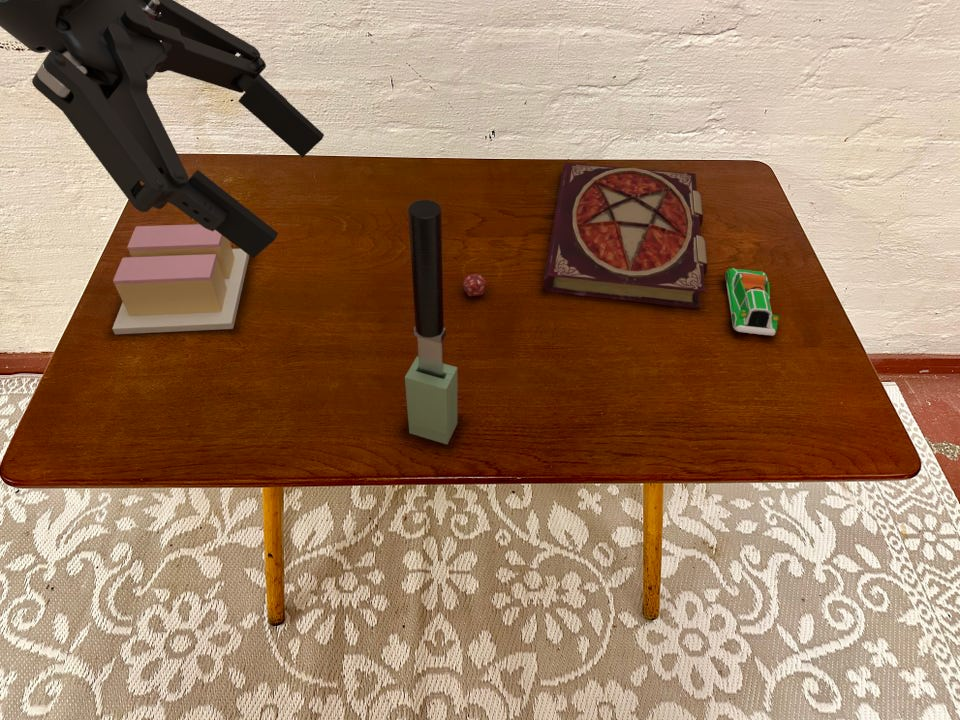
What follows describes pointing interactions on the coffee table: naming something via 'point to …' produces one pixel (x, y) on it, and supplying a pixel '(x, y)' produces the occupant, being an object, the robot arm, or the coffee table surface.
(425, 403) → the knife stand
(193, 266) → the cake
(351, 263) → the coffee table surface
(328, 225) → the coffee table surface
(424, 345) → the knife
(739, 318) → the toy car
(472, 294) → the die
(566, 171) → the book
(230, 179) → the coffee table surface
